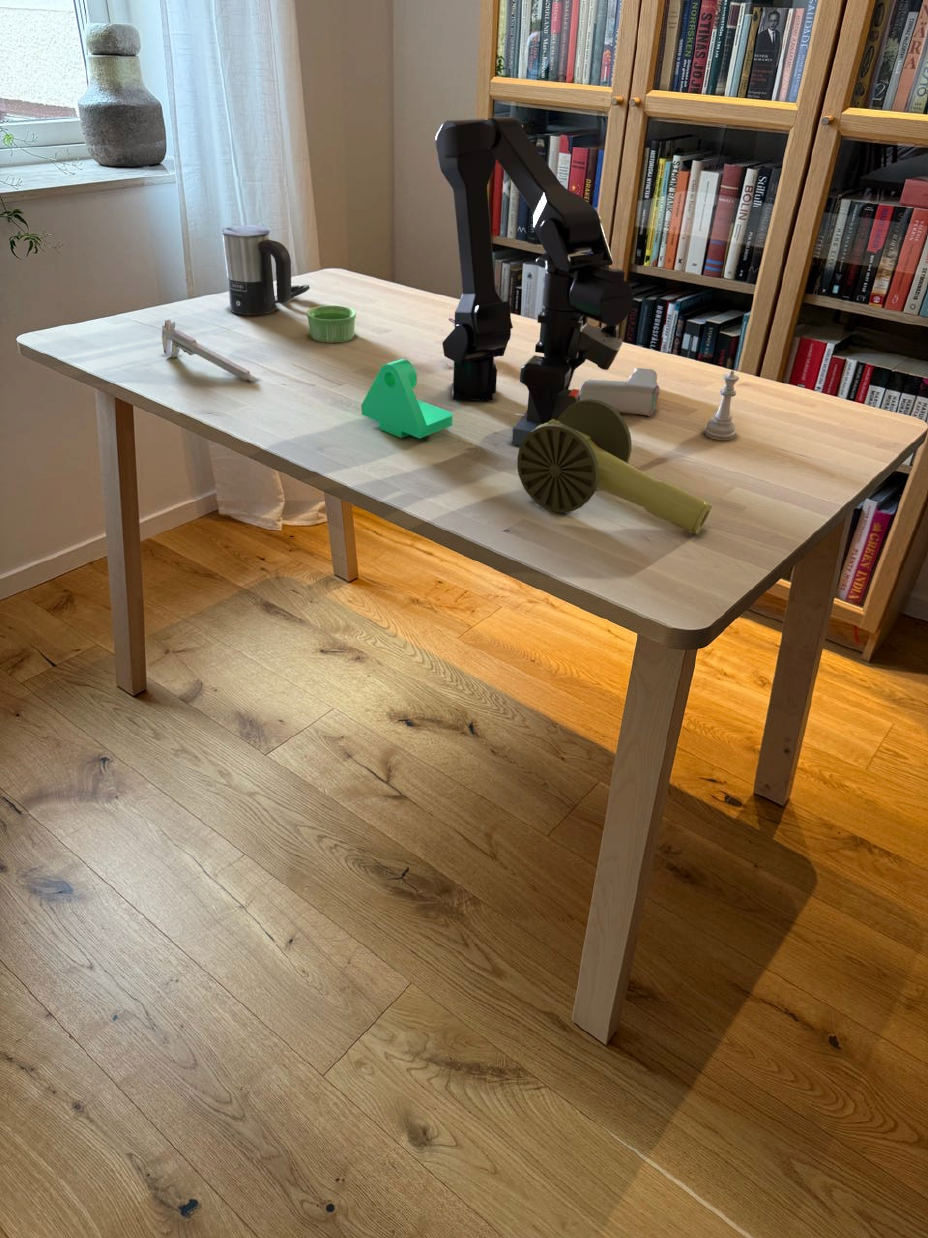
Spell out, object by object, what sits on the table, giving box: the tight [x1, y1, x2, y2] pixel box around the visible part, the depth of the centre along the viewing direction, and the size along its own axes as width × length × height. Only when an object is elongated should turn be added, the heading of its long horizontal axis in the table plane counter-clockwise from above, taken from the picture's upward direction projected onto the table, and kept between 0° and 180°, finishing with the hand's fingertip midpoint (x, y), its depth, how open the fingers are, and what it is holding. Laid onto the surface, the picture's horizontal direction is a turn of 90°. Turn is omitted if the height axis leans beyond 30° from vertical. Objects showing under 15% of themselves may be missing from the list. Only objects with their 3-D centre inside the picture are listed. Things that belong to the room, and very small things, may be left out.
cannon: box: [516, 399, 713, 535], centre depth 118 cm, size 25×12×11 cm, turn 58°
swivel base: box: [511, 410, 542, 447], centre depth 139 cm, size 13×11×3 cm
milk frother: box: [220, 224, 311, 316], centre depth 184 cm, size 14×16×15 cm
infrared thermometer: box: [579, 367, 660, 416], centre depth 153 cm, size 5×12×15 cm
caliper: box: [161, 319, 256, 382], centre depth 156 cm, size 20×1×6 cm, turn 57°
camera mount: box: [360, 358, 454, 439], centre depth 138 cm, size 12×8×10 cm, turn 48°
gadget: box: [526, 388, 581, 423], centre depth 137 cm, size 7×3×5 cm, turn 71°
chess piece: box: [704, 370, 740, 441], centre depth 140 cm, size 4×4×10 cm
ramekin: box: [305, 304, 357, 344], centre depth 173 cm, size 9×9×4 cm
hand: (552, 414), depth 138 cm, fingers open, 8 cm apart
